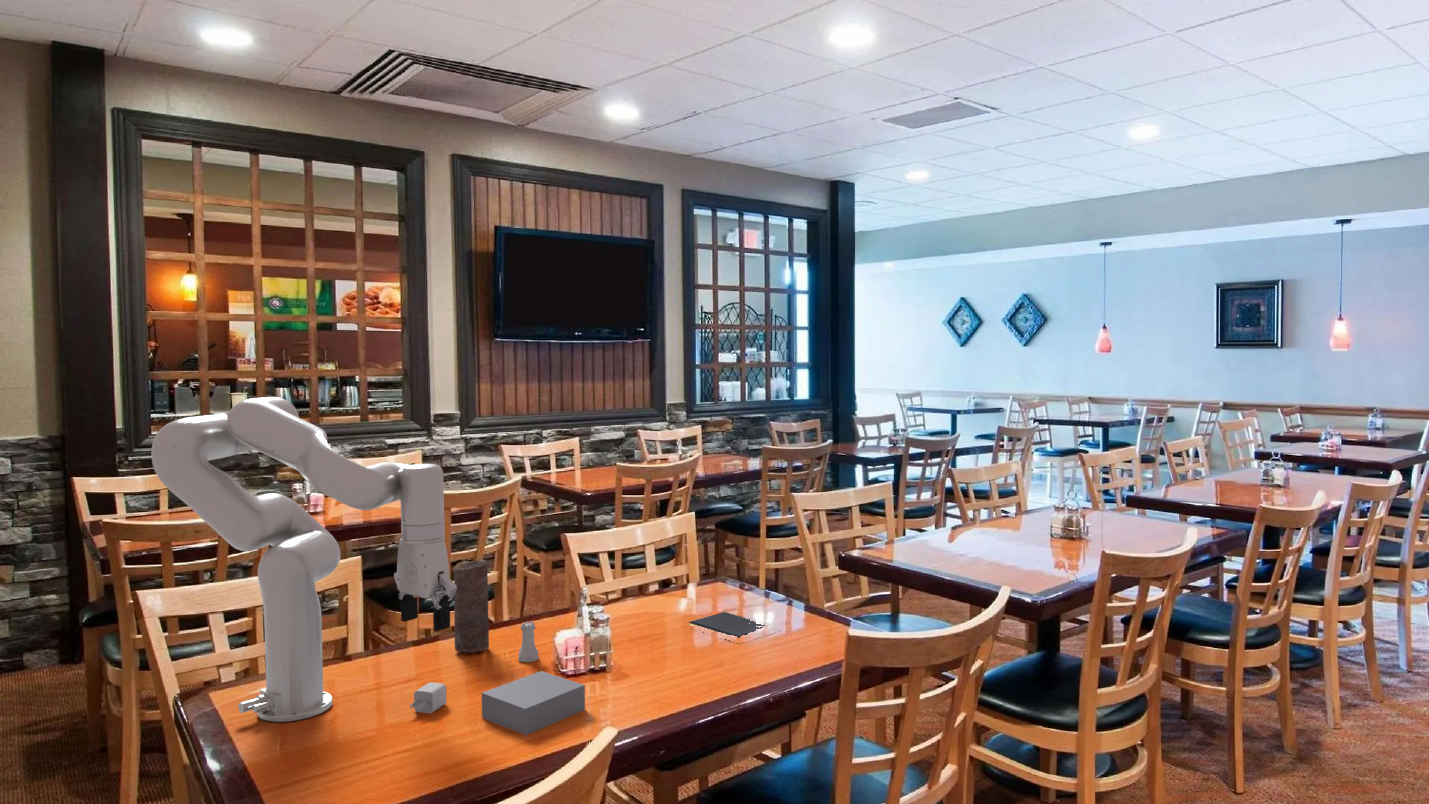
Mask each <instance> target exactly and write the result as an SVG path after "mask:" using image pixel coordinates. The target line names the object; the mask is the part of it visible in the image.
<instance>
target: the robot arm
mask: <svg viewBox="0 0 1429 804" xmlns="http://www.w3.org/2000/svg"><path fill="white" fill-rule="evenodd" d="M151 445H152V446H151V452H150V453H151V454H150V455H151V456H150V457H151V461H152V462H151V463H152V467H153V470H154V472H155V474H156V476H157V478H158V479H159V480H160V482H161V483H162V484H163V486H164V487H165V488H167V490H169V491H170V493H172V494H173V495H174V496H175V497H177V498H178V499H179V500H180V501H182V502H183V503H184V504H186V506H188V508H190V509H191V510H192V511H193V512H195V514H196V515H198V517H199V518H200V519H202V520H203V522H205V523H206V525H208V526H209V527H210V528H211V529H213V531H214V532H216V533H217V534H218V535H219V537H221V538H222V539H223V540H225V541H226V542H227V543H228V544H229V545H230V546H231V547H232V548H234V549H236V550H237V551H238V550H239V551H241V552H252V551H256V550H259V549H263V548H265V547H267V546H269V545H270V546H271V547H270V548H269V549H267V550H266V551H265V553H264V554H263V555H262V557H261V558H260V560H259V563H258V566H257V579H258V585H259V589H260V593H261V598H262V605H263V606H262V607H263V620H264V623H263V624H264V625H263V626H264V646H265V647H264V654H265V657H264V658H265V686H266V687H265V688H261V689H260V694H259V695H256V696H255V698H253V699H247V700H243V701H241V702H240V701H239V703H238V706H237V707H238V708H237V709H238V711H239V713H240V714H243V713H246V712H249V711H253V713H254V714H257V716H258V718H259V719H261V720H264V721H267V722H274V723H275V722H276V723H280V722H281V723H283V722H286V723H287V722H294V721H300V720H304V719H308V718H312V717H315V716H317V715H320V714H322V713H324V712H326V711H327V710H328V709H330V708H331V706H332V705H333V696H332V694H330V693H329V692H326V691H324V668H323V667H324V664H323V625H322V622H323V621H322V607H321V602H320V598H319V595H318V593H317V589H316V583H317V582H319V581H321V580H323V579H324V578H326V577H328V576H329V575H330V574H332V573H333V572H334V571H335V570H336V568H338V567H339V564H340V562H341V549H340V545H339V543H338V541H337V540H336V539H335V537H334V535H332V534H331V532H329V531H328V530H327V529H326V528H325V527H324V526H323V525H321V523H320V522H318V521H317V520H316V519H315V518H314V517H313V516H312V515H311V513H310V514H309V513H308V512H307V511H306V509H304V508H303V507H302V506H301V505H300V504H298V502H296V501H295V500H293V499H292V498H290V497H288V496H286V495H284V494H281V493H276V492H275V493H273V492H270V493H264V494H263V493H262V494H259V495H254V494H252V493H251V492H249V491H248V490H246V489H245V488H244V487H243V486H242V485H241V484H239V482H238V481H237V480H236V479H235V478H233V477H232V476H231V475H230V474H228V473H227V472H225V471H223V470H221V469H219V468H218V467H216V466H214V465H212V464H211V463H210V461H213V460H214V461H215V460H220V459H224V458H227V457H232V456H236V455H239V454H242V453H245V452H249V451H251V450H255V451H257V452H260V453H262V454H264V455H266V456H268V457H270V458H272V459H274V460H276V461H278V462H279V463H283V464H284V465H286V466H288V467H290V468H292V469H294V470H296V471H297V472H298V473H300V475H301V476H302V478H303V479H304V480H306V481H307V482H308V483H309V485H311V486H312V488H314V489H316V491H318V492H320V493H322V494H324V495H325V496H326V497H329V498H331V499H333V500H335V501H338V502H340V503H342V504H344V505H345V506H348V507H350V508H352V509H356V510H362V511H372V510H375V509H378V508H380V507H382V506H385V505H388V504H391V503H392V504H393V503H395V502H400V522H401V523H400V529H401V530H400V532H401V533H400V534H401V537H400V540H399V544H398V550H397V561H396V572H394V573H393V578H394V581H395V584H396V586H395V587H396V590H397V591H398V599H399V600H400V621H401V622H405V623H406V622H409V621H413V620H416V619H418V617H419V614H418V613H419V612H418V611H419V607H418V598H421V599H429V598H430V599H431V602H432V603H433V605H434V608H433V609H432V612H433V613H432V620H433V628H432V629H433V631H436V632H439V631H442V630H446V629H449V628H450V627H451V607H452V605H453V601H454V598H455V597H454V595H455V592H456V589H457V586H456V585H455V584H454V581H453V580H452V579H451V578H450V566H449V556H448V550H447V545H446V540H445V539H446V538H445V536H446V531H445V501H444V500H445V497H444V496H445V495H444V490H445V489H444V488H445V487H444V472H443V469H442V467H441V466H440V465H438V464H435V463H414V464H404V463H398V462H391V461H389V462H388V461H386V462H379V463H375V464H371V465H367V466H364V465H361V464H359V463H357V462H355V461H353V460H351V459H348V458H347V457H344V456H343V455H341V454H339V453H338V452H336V451H335V450H334V449H333V448H331V446H330V445H329V443H328V436H327V433H326V431H325V430H324V429H323V428H321V427H319V426H316V425H314V424H312V423H311V422H308V421H306V420H304V419H302V418H300V416H299V413H298V410H297V408H296V407H295V406H294V405H293V404H292V403H291V402H290V401H289V400H286V399H285V398H282V397H277V396H265V397H253V398H247V399H244V400H242V401H239V402H237V403H236V404H234V406H233V407H231V409H230V410H227V411H225V412H224V411H223V412H220V413H216V414H215V413H214V414H206V415H198V416H188V417H187V416H186V417H182V418H179V419H175V420H173V421H170V422H168V423H166V424H165V425H164V426H162V427H161V428H160V429H159V430H158V432H157V433H156V435H155V436H154V438H153V441H152V444H151ZM439 597H441V599H440V598H439Z"/></svg>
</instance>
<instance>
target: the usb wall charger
mask: <svg viewBox="0 0 1429 804" xmlns="http://www.w3.org/2000/svg"><path fill="white" fill-rule="evenodd" d="M446 704H447V686H446V684H445V683H440V682H428V683H426V684H424V685H423V686H422V687H420V688H418V689H417V690H415V691H414V693H413V702H412V703H411V704H410V705H409V709H414V711H415V712H416V713H417V712H418V713H425V714H432V713H434V712H436V711H437V710H438V709H440V708H442V707H443V706H444V705H446Z"/></svg>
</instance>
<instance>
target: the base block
mask: <svg viewBox="0 0 1429 804" xmlns="http://www.w3.org/2000/svg"><path fill="white" fill-rule="evenodd" d="M585 685H586V684H582V683H579V682H577V681H573V680H570V679H567V678H563V677H561V676H557V675H555V674H552V673H549V672H547V671H546V672H545V671H544V670H541V671H538V672H535V673H532V674H530V675H527V676H524V677H521V678H519V679H516V680H512V681H511V682H508V683H504V684H502V685H500V686H496V687H494V688H491V689H488V690H486V691H483V692H481V719H484V720H486V719H487V721H488V722H491V723H494V724H496V725H499V726H500V727H501V726H502V727H505V728H506V729H508V730H511V731H514V732H517V733H519V734H522V735H523V736H528V735H530V734H532V733H534V732H538V731H539V730H541V729H543V728H546V727H548V726H552V725H553V724H556V723H557V722H560V721H562V720H564V719H567V718H569V717H572V716H574V715H577V714H578V713H581V712H584V711H586V698H585V697H586V693H585V691H586V689H585V688H586V686H585Z"/></svg>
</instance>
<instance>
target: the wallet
mask: <svg viewBox="0 0 1429 804" xmlns="http://www.w3.org/2000/svg"><path fill="white" fill-rule="evenodd" d="M746 618H747V617H744V616H741V615H736V614H733V613H729V612H727V611H722V612H720V613H715V614H713V615H709V616H705V617H702V618H698V619H695V620H692V621H688V622H687V623H691V624H689V626H701V627H704V628H707V629H711V630H714V631H716V632H721V633H725V634H727V635H734V636H737V637H738V638H740V636H742V635H747V634H748V633H750V632H754V631H756V629H761V628H763V627H760V628H759V627H756V626H765V625H761V624H756V622H754V621H755V620H754V621H750V619H751V618H748V619H746ZM749 623H750V624H749ZM704 628H699V629H704ZM709 632H713V631H709Z"/></svg>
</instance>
